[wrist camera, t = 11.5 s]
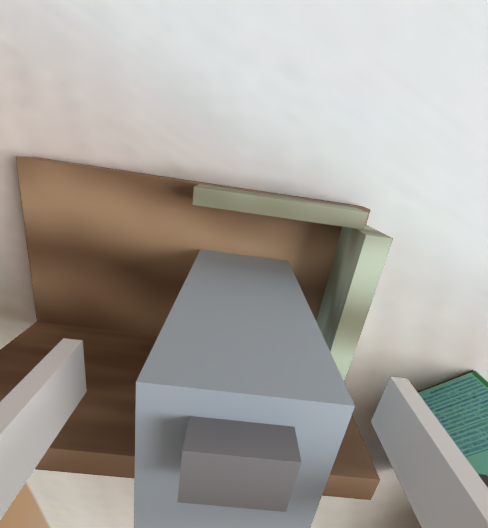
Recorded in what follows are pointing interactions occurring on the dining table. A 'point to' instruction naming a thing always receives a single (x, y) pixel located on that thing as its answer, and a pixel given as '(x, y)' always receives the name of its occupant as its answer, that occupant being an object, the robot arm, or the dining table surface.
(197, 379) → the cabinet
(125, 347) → the brown wooden l-shaped piece
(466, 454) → the milk carton
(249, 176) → the dining table surface
